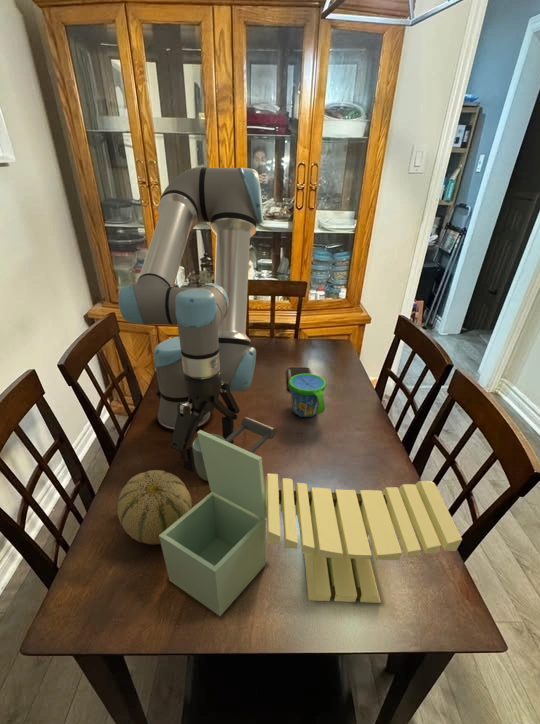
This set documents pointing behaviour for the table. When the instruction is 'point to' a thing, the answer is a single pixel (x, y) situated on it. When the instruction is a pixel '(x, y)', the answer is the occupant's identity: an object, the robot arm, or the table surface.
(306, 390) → the snack cup
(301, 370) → the phone
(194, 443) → the cup
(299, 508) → the slatted curved stool
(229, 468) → the pale green box lid
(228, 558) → the green box
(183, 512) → the cantaloupe
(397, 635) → the table surface
